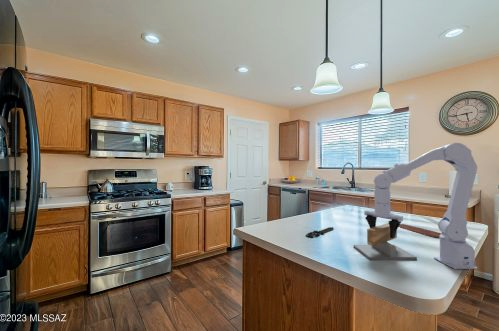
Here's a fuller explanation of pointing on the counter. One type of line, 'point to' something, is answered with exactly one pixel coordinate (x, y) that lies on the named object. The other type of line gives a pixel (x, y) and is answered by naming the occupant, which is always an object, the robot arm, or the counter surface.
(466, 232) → the robot arm
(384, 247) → the stand
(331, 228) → the black spatula
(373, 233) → the wooden block
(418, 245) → the counter surface
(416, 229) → the wooden tablet
